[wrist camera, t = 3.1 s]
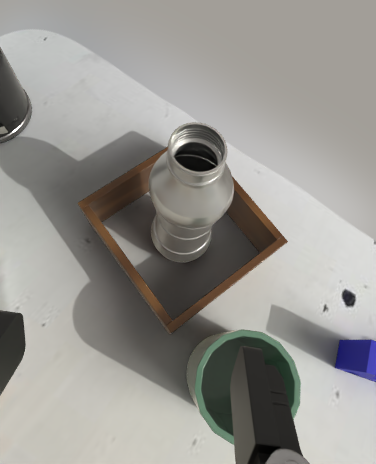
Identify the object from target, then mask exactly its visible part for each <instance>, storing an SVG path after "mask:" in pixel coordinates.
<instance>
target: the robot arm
mask: <svg viewBox="0 0 376 464" xmlns="http://www.w3.org/2000/svg"><path fill="white" fill-rule="evenodd" d="M31 113H32V106H31V102H30V99H29V97H28V95H27V93H26V92H25V90H24V89H23V88H22V86H21V84H20V82H19V80H18V79H17V77H16V75H15V73H14V71H13V69H12V67H11V66H10V64H9V62H8V60H7V58H6V57H5V55H4V53H3V51H2V49H1V47H0V143H3V142H6V141H8V140H10V139H12V138H14V137H15V136H17V135H18V134H19V133H21V132H22V131H23V130H24V128H25V127H26V126H27V124H28V122H29V120H30V117H31ZM24 352H25V333H24V322H23V315H22V314H21V313H15V312H8V311H1V310H0V395H1V393H2V392H3V390H4V388H5V387H6V385H7V384H8V382H9V380H10V379H11V377H12V375H13V374H14V372H15V370H16V369H17V367H18V365H19V364H20V362H21V360H22V358H23V355H24ZM230 393H231V407H232V420H233V433H234V446H235V459H236V464H309V462H308V461H307V460H306V459H305V458H304V457H303V455H302V453H301V450H300V446H299V442H298V438H297V433H296V429H295V425H294V421H293V417H292V413H291V409H290V406H289V400H288V396H287V395H286V388H285V384H284V380H283V378H282V376H281V375H280V373H279V372H278V370H277V369H276V367H275V366H273V365H266V364H265V362H264V356H263V352H262V349H260V348H253V347H246V346H241V347H240V349H239V352H238V355H237V359H236V362H235V365H234V369H233V372H232V376H231V384H230Z"/></svg>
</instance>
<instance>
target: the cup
mask: <svg viewBox="0 0 376 464" xmlns="http://www.w3.org/2000/svg"><path fill="white" fill-rule="evenodd" d="M241 346H246V347H253V348H260V349H262V352H263V356H264V362H265V364H266V365H273V366H275V367H276V369H277V370H278V372H279V373H280V375H281V376H282V378H283V380H284V384H285V388H286V395H287V396H288V400H289V406H290V409H291V413H292V417H293V420H294V417H295V415H296V413H297V410H298V408H299V406H300V386H301V382H300V378H299V375H298V372H297V369H296V366H295V363H294V360H293V359H292V357H291V356H290V355H289V354H288V352H287V351H286V350H285V349H284V347H283V346H282V345H281V344H280V343H279V342H278V341H276V340H274V339H273V338H271V337H269V336H268V335H266V334H264V333H262V332H257V331H250V330H236V331H229V332H222V333H218V334H214V335H211V336H208V337H207V338H205V339H204V340H203V341H201V342H200V343H199V344H198V345H197V346H196V347H195V349H194V350H193V352H192V354H191V356H190V358H189V360H188V364H187V372H186V380H187V385H188V388H189V392H190V395H191V397H192V399H193V401H194V403H195V404H196V406H197V408H198V410H199V412H200V414H201V415H202V417H203V418H204V419H205V421H206V422H207V424H208V425H209V427H210V428H211V429H212V431H213V432H214V433H215V434H217V435H219V436H220V437H222V438H223V439H225V440H227V441H228V442H230V443H231V444H234V433H233V420H232V407H231V393H230V384H231V376H232V372H233V369H234V365H235V362H236V359H237V355H238V352H239V349H240V347H241Z"/></svg>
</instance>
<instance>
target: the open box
mask: <svg viewBox="0 0 376 464" xmlns="http://www.w3.org/2000/svg"><path fill="white" fill-rule="evenodd" d="M167 150H168V147H167V148H165V149H163V150H162V151H160V152H159V153H157V154H155V155H154V156H152V157H151V158H149V159H147V160H146V161H144V162H143V163H141V164H139V165H138V166H136V167H135V168H133V169H131V170H130V171H128V172H127V173H125V174H123V175H122V176H120V177H119V178H117V179H115V180H114V181H112V182H111V183H109V184H107V185H106V186H104V187H102V188H101V189H99V190H98V191H96V192H94V193H93V194H91V195H90V196H88V197H86V198H85V199H83V200H82V201H80V202H78V205H79V207H80V208H81V210H82V212H83V213H84V215H85V216H86V218H87V220H88V221H89V223H90V224H91V226H92V227H93V229H94V230H95V231H96V233H97V234H98V236H99V237H100V238H101V240H102V241H103V243H104V244H105V245H106V247H107V248H108V250H109V251H110V252H111V254H112V255H113V257H114V258H115V259H116V261H117V262H118V263H119V265H120V266H121V268H122V269H123V270H124V272H125V273H126V275H127V276H128V277H129V279H130V280H131V282H132V283H133V284H134V286H135V287H136V289H137V290H138V291H139V293H140V294H141V296H142V297H143V298H144V300H145V301H146V303H147V304H148V305H149V307H150V308H151V310H152V311H153V312H154V314H155V315H156V316H157V318H158V319H159V321H160V322H161V323H162V325H163V326H164V328H165V329H166V330H167V332H168V333H169V334H171V333H172V332H174V331H175V330H176V329H177V328H179V327H180V326H181V325H183V324H184V323H185V322H186V321H188V320H189V319H190V318H191V317H193V316H194V315H195V314H197V313H198V312H199V311H200V310H202V309H203V308H204V307H205V306H207V305H208V304H209V303H211V302H212V301H213V300H214V299H216V298H217V297H218V296H220V295H221V294H222V293H223V292H225V291H226V290H227V289H228V288H230V287H231V286H232V285H234V284H235V283H236V282H237V281H239V280H240V279H241V278H242V277H244V276H245V275H246V274H248V273H249V272H250V271H251V270H253V269H254V268H255V267H256V266H258V265H259V264H260V263H262V262H263V261H264V260H265V259H267V258H268V257H269V256H270V255H272V254H273V253H274V252H276V251H277V250H278V249H279V248H281V247H282V246H283V245H284V244H286V243H287V242H288V241H287V240H286V239H285V238H284V236H283V235H282V234H281V233H280V232H279V231H278V229H277V228H276V227H275V226H274V225H273V224H272V222H271V221H270V220H269V219H268V218H267V216H266V215H265V214H264V213H263V212H262V211H261V209H260V208H259V207H258V206H257V205H256V204H255V202H254V201H253V200H252V199H251V198H250V197H249V195H248V194H247V193H246V192H245V191H244V190H243V188H242V187H241V186H240V185H239V184H238V183H237V181H236V180H235V179H234V178H233V177H232V179H233V185H234V194H233V199H232V202H231V204H230V207H229V208H228V209H227V211H226V213H227V214H228V215H229V216H230V217H231V219H232V220H233V221H234V222H235V223H236V225H237V226H238V227H239V228H240V230H241V231H242V232H243V233H244V234H245V236H246V237H247V238H248V239H249V240H250V242H251V243H252V244H253V245H254V246H255V248H256V249H257V250H258V251H259V253H260V254H258V255H257V256H256V257H254V258H253V259H252V260H251V261H249V262H248V263H247V264H245V265H244V266H243V267H241V268H240V269H239V270H238V271H236V272H235V273H234V274H232V275H231V276H230V277H229V278H227V279H226V280H225V281H223V282H222V283H221V284H220V285H218V286H217V287H216V288H214V289H213V290H212V291H211V292H209V293H208V294H207V295H205V296H204V297H203V298H202V299H200V300H199V301H198V302H196V303H195V304H194V305H192V306H191V307H190V308H189V309H187V310H186V311H185V312H183V313H182V314H181V315H180V316H178V317H177V318H176V319H174V320H173V321H172V319H171V318H170V316H169V315H168V313H167V312H166V311H165V309H164V308H163V307H162V305H161V304H160V302H159V301H158V300H157V298H156V297H155V296H154V294H153V293H152V291H151V290H150V289H149V287H148V286H147V284H146V283H145V282H144V280H143V279H142V278H141V276H140V275H139V273H138V272H137V271H136V269H135V268H134V267H133V265H132V264H131V262H130V261H129V260H128V258H127V257H126V256H125V254H124V253H123V251H122V250H121V249H120V247H119V246H118V245H117V243H116V242H115V240H114V239H113V238H112V236H111V235H110V234H109V232H108V231H107V229H106V228H105V227H104V225H103V224H102V223H101V222H103V221H104V220H106V219H107V218H109V217H111V216H112V215H114V214H115V213H117V212H118V211H120V210H121V209H123V208H124V207H126V206H127V205H129V204H131V203H132V202H134V201H135V200H137V199H138V198H140V197H141V196H143V195H144V194H146V193H147V192H149V176H150V172H151V170H152V168H153V166H154V164H155V163H156V161H157V160H158V159H159V158H160V156H161V155H162V154H164V153H165V152H166V151H167Z"/></svg>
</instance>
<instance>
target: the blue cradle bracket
mask: <svg viewBox="0 0 376 464" xmlns="http://www.w3.org/2000/svg"><path fill="white" fill-rule="evenodd" d="M335 368H337V369H340V370H343V371H346V372H348V373H351V374H354V375H357V376H360V377H363V378H366V379H369V380H372V381H374V382H376V341H374V340H340V342H339V348H338V353H337V359H336V364H335Z"/></svg>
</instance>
